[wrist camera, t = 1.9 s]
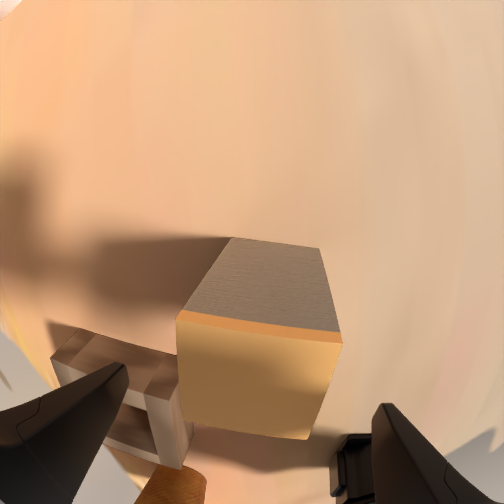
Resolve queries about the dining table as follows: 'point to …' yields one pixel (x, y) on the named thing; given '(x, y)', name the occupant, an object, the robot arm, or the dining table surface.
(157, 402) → the socket block
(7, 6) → the honey pot
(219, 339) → the steel peg
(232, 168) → the dining table surface
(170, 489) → the disposable coffee cup
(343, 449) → the robot arm
